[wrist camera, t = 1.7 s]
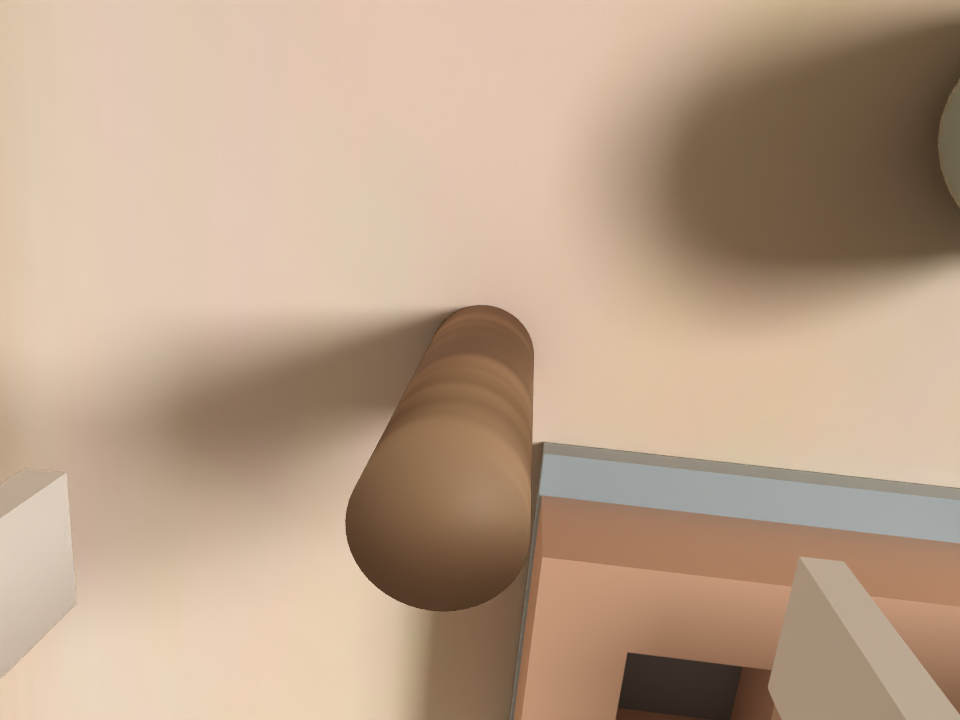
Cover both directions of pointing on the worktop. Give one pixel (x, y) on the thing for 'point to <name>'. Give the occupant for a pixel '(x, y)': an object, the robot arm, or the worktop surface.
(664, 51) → the worktop surface
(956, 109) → the cup
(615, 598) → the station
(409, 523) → the peg
